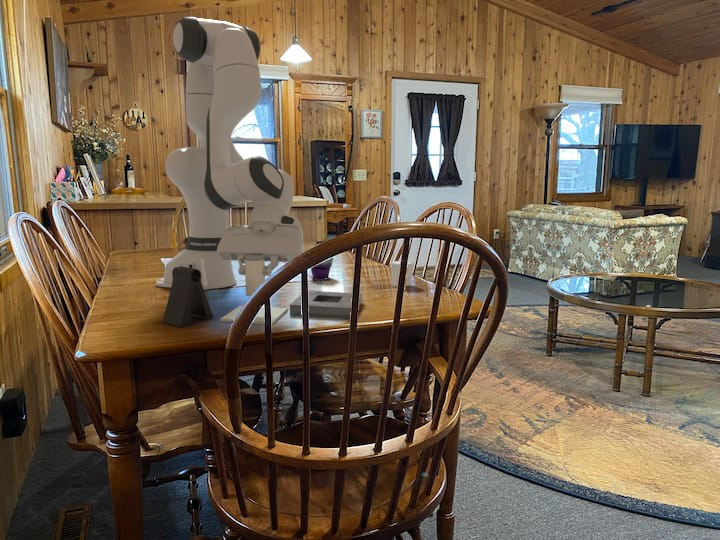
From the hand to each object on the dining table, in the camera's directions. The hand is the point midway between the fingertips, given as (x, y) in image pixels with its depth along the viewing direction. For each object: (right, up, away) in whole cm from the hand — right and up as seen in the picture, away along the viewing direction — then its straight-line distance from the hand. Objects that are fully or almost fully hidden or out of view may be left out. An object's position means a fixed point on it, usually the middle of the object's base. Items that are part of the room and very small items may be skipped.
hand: (254, 274), depth 120 cm
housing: (+16, -9, +10) cm, 21 cm away
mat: (0, -10, +3) cm, 10 cm away
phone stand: (-14, -11, -2) cm, 18 cm away
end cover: (0, -5, +1) cm, 5 cm away
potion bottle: (+12, -2, +48) cm, 49 cm away
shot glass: (+37, -4, +39) cm, 54 cm away
